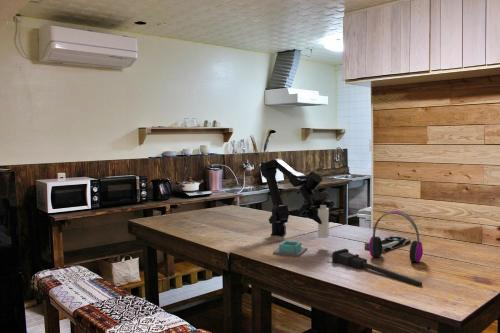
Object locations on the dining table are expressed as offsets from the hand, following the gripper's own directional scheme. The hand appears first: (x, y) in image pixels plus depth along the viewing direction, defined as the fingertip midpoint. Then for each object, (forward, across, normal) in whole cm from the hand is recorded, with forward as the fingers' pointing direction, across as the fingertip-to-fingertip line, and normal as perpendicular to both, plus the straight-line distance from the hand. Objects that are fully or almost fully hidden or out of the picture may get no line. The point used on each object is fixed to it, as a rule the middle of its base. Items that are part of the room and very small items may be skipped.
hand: (325, 222), depth 192 cm
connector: (+4, 0, +6) cm, 7 cm away
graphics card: (+20, +26, -2) cm, 32 cm away
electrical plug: (+32, -9, -15) cm, 37 cm away
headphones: (+30, +10, -13) cm, 34 cm away
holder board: (+5, -16, +12) cm, 21 cm away
